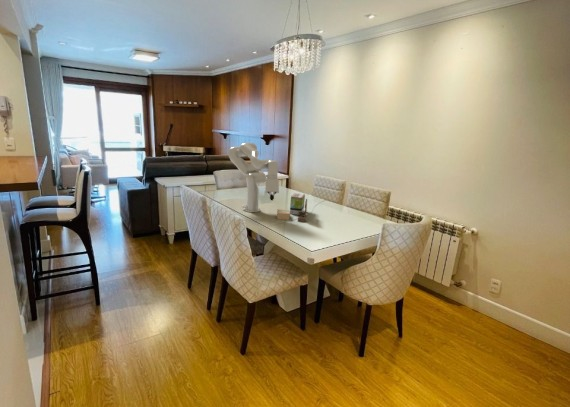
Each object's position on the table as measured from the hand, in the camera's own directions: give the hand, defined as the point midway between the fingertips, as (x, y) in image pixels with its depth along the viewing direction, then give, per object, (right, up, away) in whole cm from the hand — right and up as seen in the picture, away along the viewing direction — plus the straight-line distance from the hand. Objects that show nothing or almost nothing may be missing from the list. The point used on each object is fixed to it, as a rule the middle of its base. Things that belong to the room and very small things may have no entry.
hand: (271, 200), depth 239 cm
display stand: (+23, -14, +2) cm, 27 cm away
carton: (+9, -14, +3) cm, 17 cm away
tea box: (+20, -10, +19) cm, 30 cm away
